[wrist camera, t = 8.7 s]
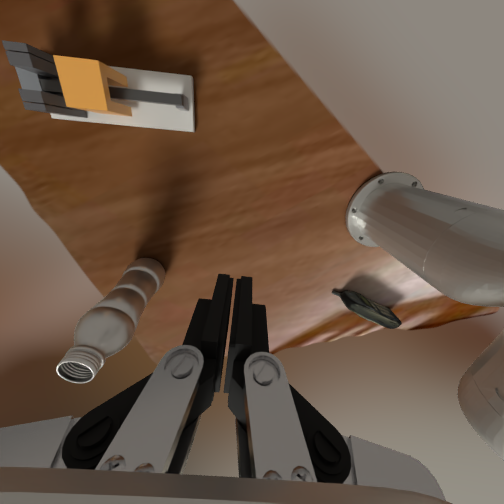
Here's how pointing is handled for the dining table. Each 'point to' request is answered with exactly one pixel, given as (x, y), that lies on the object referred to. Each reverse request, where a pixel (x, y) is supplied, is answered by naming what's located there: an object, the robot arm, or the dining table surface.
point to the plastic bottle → (111, 321)
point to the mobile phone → (369, 309)
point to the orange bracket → (90, 85)
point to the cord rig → (135, 95)
